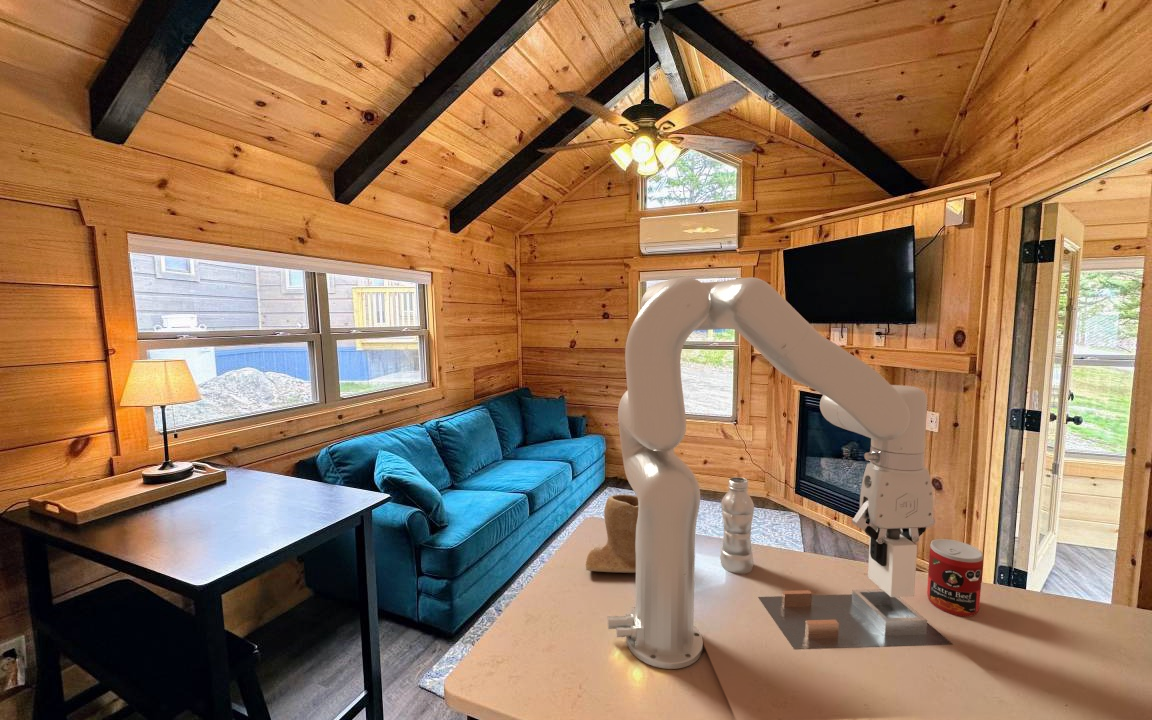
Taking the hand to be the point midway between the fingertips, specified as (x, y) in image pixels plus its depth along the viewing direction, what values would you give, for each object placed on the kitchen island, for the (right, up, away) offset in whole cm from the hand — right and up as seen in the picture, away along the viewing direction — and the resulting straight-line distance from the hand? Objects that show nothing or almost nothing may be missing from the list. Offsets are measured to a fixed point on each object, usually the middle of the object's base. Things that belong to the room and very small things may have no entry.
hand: (891, 560), depth 82 cm
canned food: (+16, -11, +7) cm, 20 cm away
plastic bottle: (-21, -10, +18) cm, 30 cm away
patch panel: (-7, -12, +1) cm, 14 cm away
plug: (0, -5, 0) cm, 5 cm away
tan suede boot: (-45, -10, +22) cm, 51 cm away
